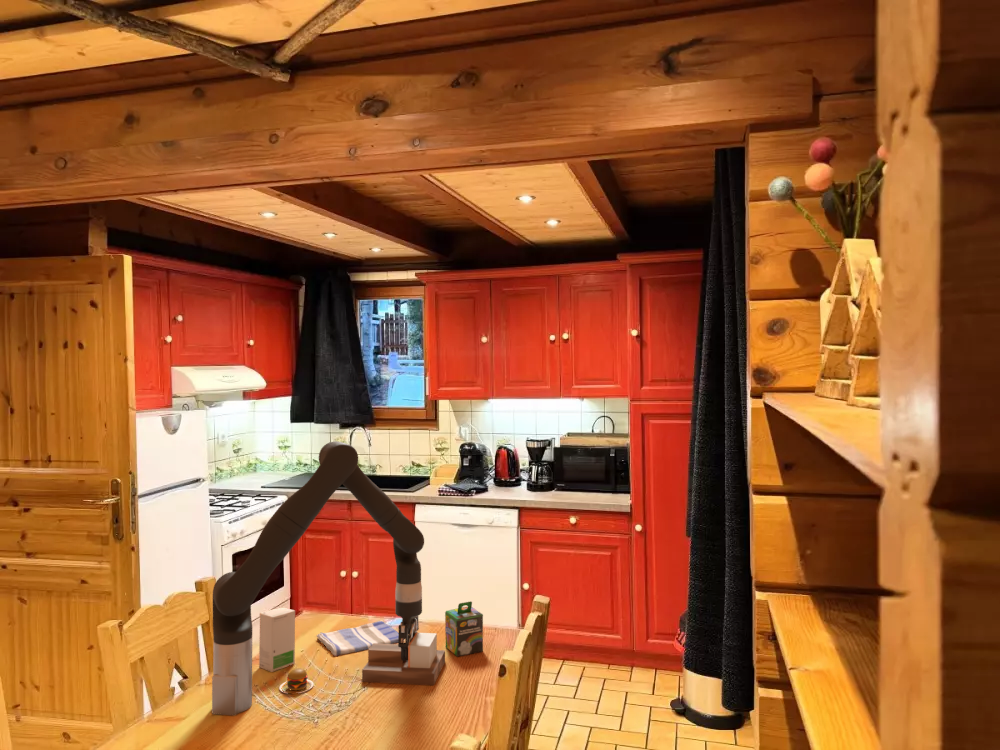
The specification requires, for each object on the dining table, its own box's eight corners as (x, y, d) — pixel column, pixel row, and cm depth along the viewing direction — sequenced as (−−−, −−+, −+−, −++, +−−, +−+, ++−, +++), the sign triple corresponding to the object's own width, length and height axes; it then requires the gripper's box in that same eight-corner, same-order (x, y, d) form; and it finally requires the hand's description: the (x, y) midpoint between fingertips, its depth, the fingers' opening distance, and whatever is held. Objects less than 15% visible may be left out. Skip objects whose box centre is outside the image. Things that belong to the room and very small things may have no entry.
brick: (408, 667, 192) (429, 668, 191) (408, 645, 192) (429, 646, 191) (416, 653, 202) (436, 654, 201) (416, 632, 202) (436, 633, 201)
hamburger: (268, 686, 189) (268, 666, 189) (312, 677, 195) (312, 657, 195) (279, 704, 178) (279, 682, 179) (325, 693, 185) (325, 672, 185)
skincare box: (271, 673, 196) (271, 617, 196) (257, 667, 200) (257, 613, 200) (296, 663, 203) (296, 610, 203) (282, 658, 207) (282, 605, 207)
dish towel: (315, 640, 222) (315, 631, 222) (384, 627, 235) (384, 618, 235) (332, 658, 208) (332, 649, 208) (405, 643, 220) (405, 634, 220)
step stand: (433, 685, 188) (433, 660, 188) (362, 681, 190) (362, 657, 190) (445, 661, 204) (445, 639, 204) (378, 658, 206) (378, 636, 206)
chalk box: (471, 642, 220) (471, 595, 220) (484, 651, 212) (484, 603, 212) (444, 647, 215) (444, 599, 215) (456, 657, 207) (456, 607, 207)
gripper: (416, 605, 190) (416, 664, 190) (427, 590, 204) (427, 645, 204) (389, 604, 191) (389, 663, 191) (402, 589, 205) (402, 644, 205)
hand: (408, 654), depth 197 cm, fingers open, 8 cm apart
